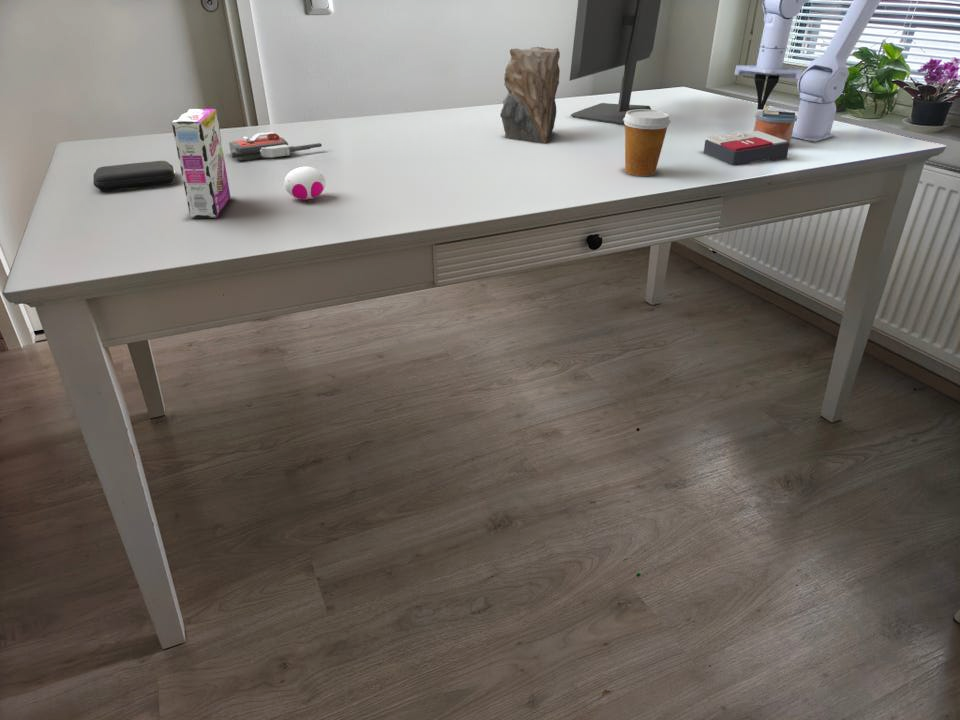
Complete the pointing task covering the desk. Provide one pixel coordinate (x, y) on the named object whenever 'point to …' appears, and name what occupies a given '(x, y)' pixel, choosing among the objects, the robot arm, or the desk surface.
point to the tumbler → (776, 124)
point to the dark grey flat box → (746, 147)
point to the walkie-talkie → (264, 147)
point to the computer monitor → (613, 48)
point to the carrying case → (134, 175)
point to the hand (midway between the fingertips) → (760, 108)
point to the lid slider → (770, 111)
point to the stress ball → (305, 183)
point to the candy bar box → (202, 162)
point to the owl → (531, 94)
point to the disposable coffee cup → (644, 140)
